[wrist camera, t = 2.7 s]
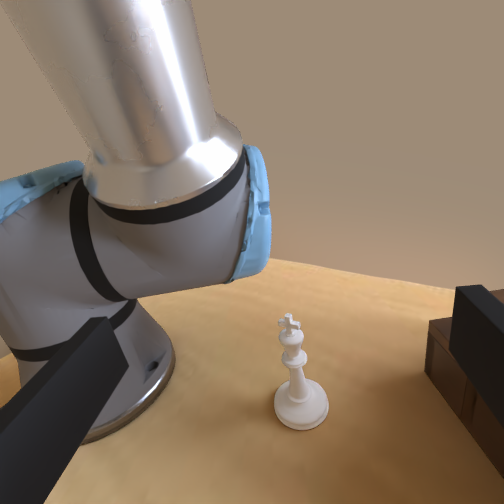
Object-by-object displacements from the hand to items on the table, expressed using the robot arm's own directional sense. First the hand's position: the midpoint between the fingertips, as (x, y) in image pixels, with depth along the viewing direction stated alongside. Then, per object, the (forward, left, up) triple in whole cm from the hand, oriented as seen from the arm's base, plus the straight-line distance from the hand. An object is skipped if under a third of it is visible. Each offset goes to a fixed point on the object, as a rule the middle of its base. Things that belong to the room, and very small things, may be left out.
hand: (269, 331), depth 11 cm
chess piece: (-8, +6, -17) cm, 20 cm away
